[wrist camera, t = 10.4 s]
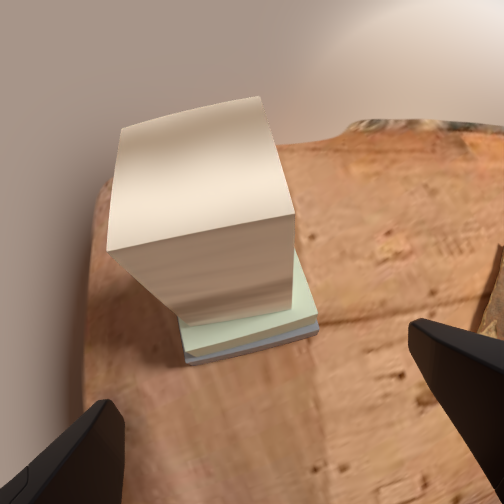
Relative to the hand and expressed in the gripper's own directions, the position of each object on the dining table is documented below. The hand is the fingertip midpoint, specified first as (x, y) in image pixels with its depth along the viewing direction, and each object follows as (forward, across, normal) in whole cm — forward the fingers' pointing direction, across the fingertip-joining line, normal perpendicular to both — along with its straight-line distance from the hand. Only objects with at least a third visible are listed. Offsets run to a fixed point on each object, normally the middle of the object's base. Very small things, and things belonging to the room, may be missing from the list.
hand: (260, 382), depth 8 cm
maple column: (+12, +1, +1) cm, 12 cm away
